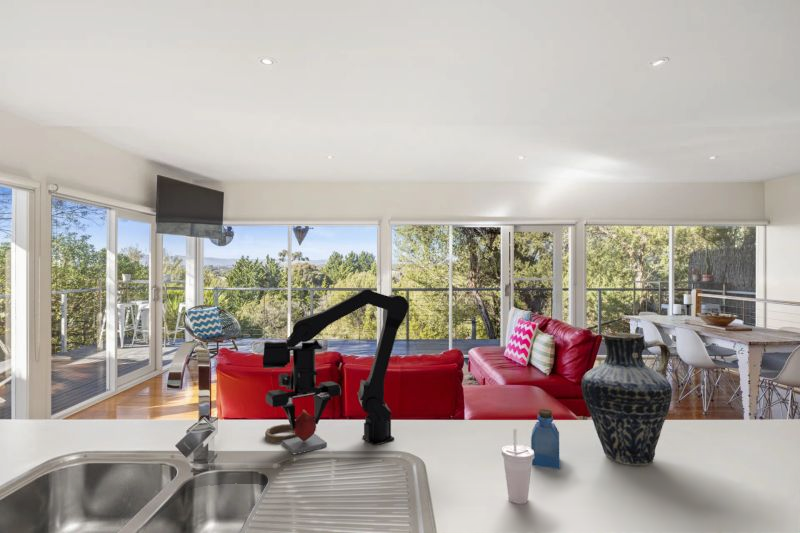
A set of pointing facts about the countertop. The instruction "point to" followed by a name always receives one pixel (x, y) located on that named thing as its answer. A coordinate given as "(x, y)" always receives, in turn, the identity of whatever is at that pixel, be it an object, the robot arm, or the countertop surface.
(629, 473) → the countertop surface
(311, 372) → the robot arm
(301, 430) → the onion
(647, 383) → the jug
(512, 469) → the smoothie
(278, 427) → the ring
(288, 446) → the slate tile
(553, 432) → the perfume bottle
